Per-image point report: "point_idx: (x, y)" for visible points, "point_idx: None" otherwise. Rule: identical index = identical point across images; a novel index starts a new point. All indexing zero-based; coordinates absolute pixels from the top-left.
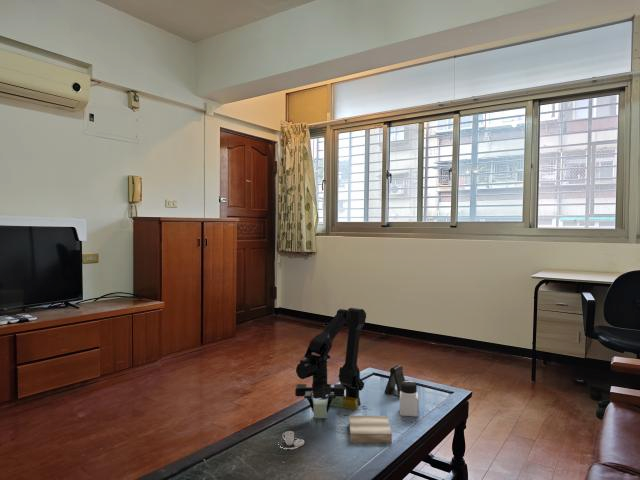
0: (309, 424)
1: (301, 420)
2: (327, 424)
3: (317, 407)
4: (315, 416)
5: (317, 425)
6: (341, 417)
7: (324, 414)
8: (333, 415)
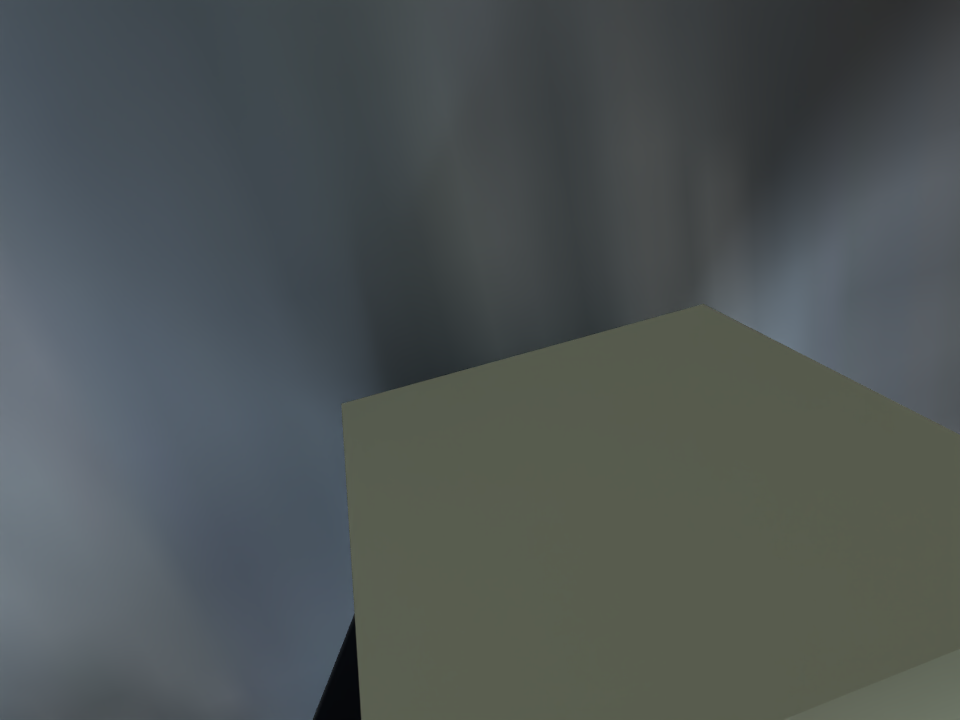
0: (727, 106)
1: (888, 267)
2: (266, 215)
3: (832, 521)
4: (673, 329)
5: (525, 88)
6: (60, 657)
7: (421, 438)
8: (287, 663)
